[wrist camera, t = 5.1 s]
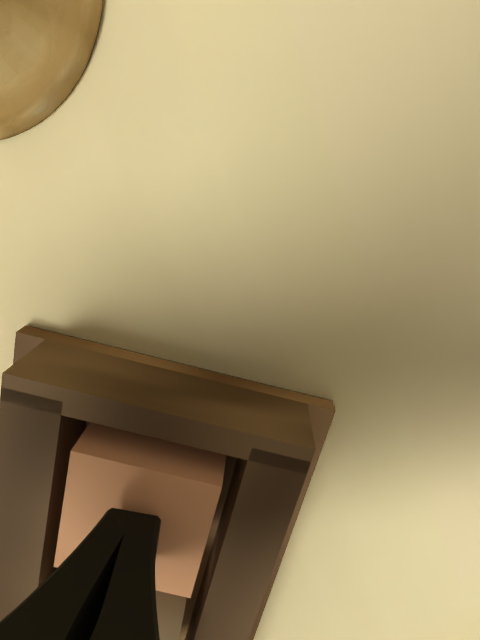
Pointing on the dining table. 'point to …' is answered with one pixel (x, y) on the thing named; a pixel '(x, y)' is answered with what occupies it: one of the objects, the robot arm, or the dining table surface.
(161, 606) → the key two cream
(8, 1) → the hand bell
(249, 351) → the dining table surface
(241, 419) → the wooden tray
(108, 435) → the key one terracotta
